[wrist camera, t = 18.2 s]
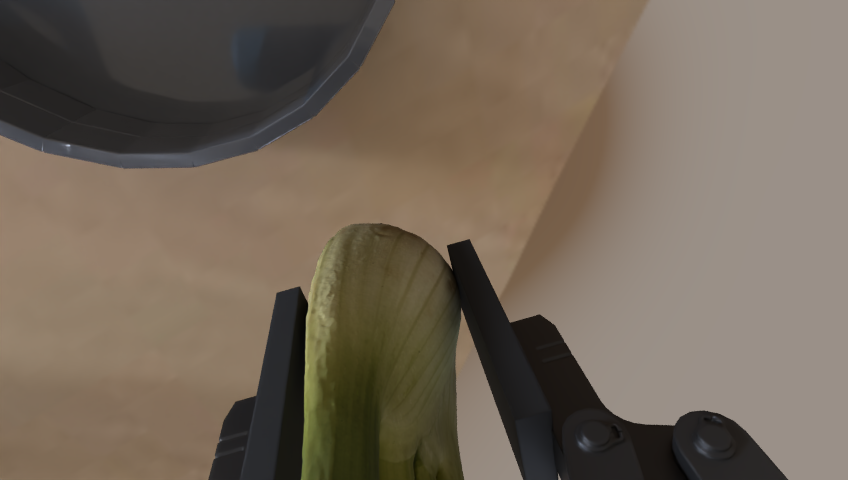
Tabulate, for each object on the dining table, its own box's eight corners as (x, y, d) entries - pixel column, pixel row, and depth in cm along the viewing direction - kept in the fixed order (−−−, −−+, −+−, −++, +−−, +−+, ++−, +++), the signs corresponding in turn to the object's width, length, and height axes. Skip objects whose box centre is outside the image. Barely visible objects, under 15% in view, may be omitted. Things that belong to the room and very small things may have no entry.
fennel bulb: (297, 205, 14) (195, 761, 4) (445, 189, 15) (667, 645, 5) (326, 336, 17) (306, 840, 7) (447, 318, 18) (586, 764, 8)
